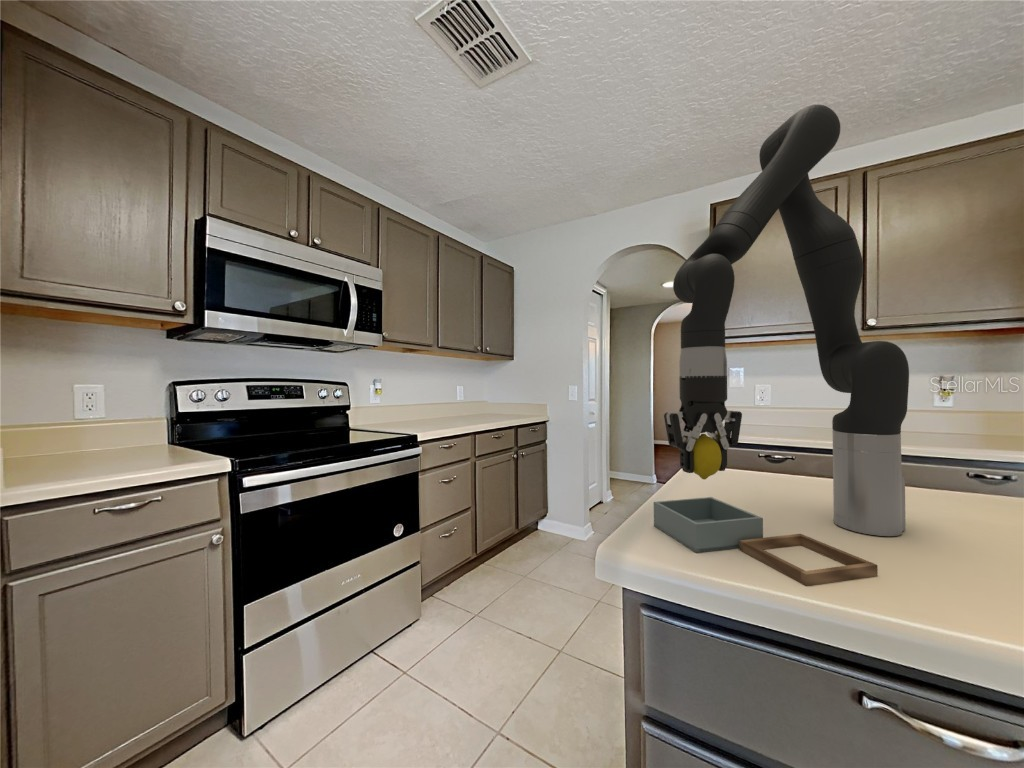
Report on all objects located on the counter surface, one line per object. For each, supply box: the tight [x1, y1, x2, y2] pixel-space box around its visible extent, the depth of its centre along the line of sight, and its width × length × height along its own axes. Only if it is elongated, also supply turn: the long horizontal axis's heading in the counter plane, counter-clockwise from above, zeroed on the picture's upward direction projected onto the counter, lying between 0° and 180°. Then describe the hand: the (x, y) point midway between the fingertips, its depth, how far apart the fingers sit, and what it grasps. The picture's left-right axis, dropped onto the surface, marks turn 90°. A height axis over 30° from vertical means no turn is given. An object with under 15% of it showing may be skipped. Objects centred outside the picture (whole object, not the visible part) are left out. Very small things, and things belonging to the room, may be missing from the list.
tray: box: [738, 533, 878, 587], centre depth 59 cm, size 12×12×2 cm
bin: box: [653, 496, 764, 554], centre depth 70 cm, size 12×12×4 cm
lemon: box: [692, 433, 722, 480], centre depth 70 cm, size 6×6×8 cm
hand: (703, 470), depth 70 cm, fingers closed on lemon, 5 cm apart
